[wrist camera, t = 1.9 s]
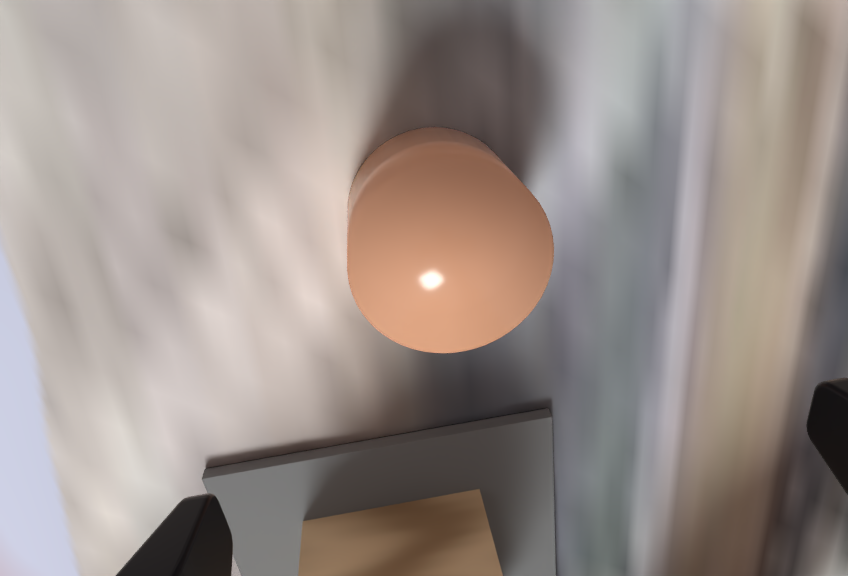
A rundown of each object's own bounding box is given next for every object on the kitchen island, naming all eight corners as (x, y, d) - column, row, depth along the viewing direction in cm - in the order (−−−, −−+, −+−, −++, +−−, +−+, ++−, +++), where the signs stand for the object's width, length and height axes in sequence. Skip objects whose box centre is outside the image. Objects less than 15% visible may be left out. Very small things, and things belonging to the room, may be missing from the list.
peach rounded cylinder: (509, 114, 17) (551, 146, 13) (517, 272, 19) (555, 335, 16) (332, 141, 17) (328, 181, 13) (363, 298, 19) (366, 367, 15)
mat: (548, 408, 22) (552, 416, 21) (553, 617, 28) (557, 628, 27) (204, 468, 21) (201, 479, 21) (286, 670, 27) (285, 681, 27)
